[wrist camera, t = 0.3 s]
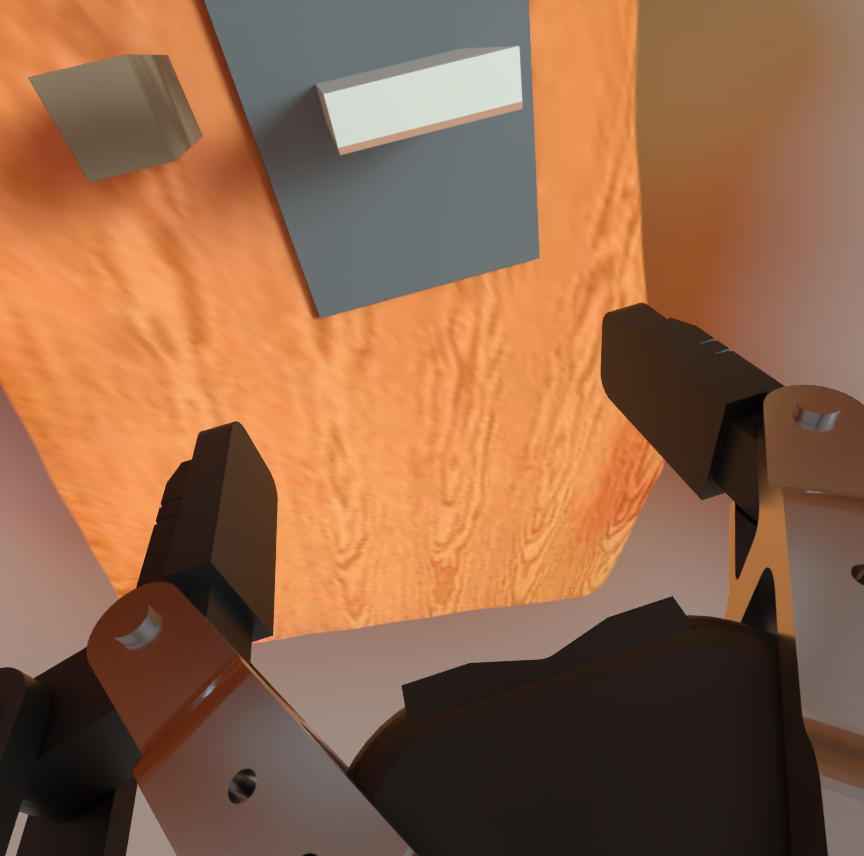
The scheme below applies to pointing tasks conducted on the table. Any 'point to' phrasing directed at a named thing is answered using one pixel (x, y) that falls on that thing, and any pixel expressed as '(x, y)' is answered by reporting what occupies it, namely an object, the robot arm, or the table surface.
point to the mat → (384, 145)
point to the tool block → (119, 113)
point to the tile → (421, 96)
